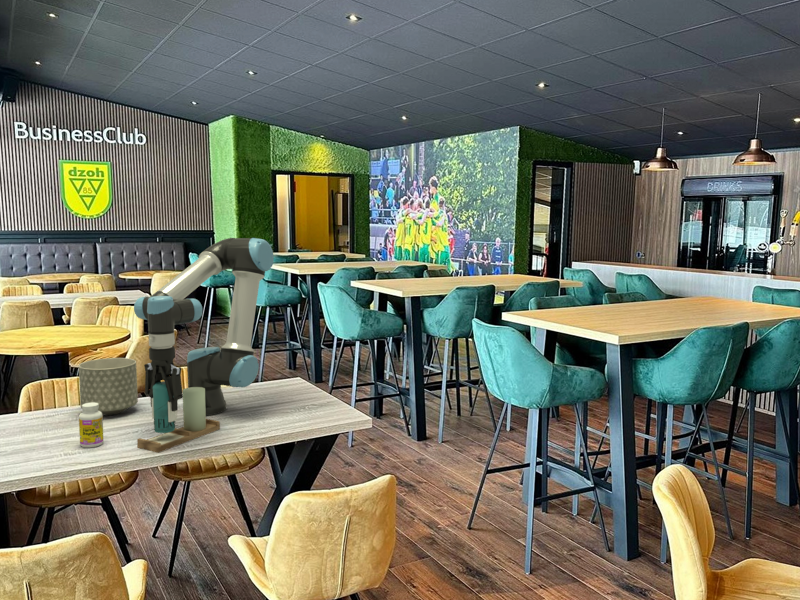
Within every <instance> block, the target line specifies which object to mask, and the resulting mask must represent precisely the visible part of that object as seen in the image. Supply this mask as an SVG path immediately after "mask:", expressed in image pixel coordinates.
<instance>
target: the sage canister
mask: <svg viewBox="0 0 800 600" xmlns="http://www.w3.org/2000/svg"><path fill="white" fill-rule="evenodd" d="M182 394H183V398H182V411H183V412H182V415H183V427H184V430H187V431H191V432H194V431H201V430H204V429H205V428H206V419H207V417H206V416H207V415H206V409H205V388H202V387H190V388H188V387H187V388H182Z"/></svg>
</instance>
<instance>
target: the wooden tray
mask: <svg viewBox="0 0 800 600" xmlns="http://www.w3.org/2000/svg"><path fill="white" fill-rule="evenodd" d="M220 424H221V423H220V420H215V419H211V418H206V428H205V429H204V430H201V431H194V432H191V431H187V430H184V426H180V427H178V428H177V427H175V430H174V431H172V432H168V433H160V434H159V435H156V436H153V437H151V438H147V439H145V438H141V437H140V438H137V441H136V442H137V448H138V449H141V450H146V451H150V452H154V453H161V452H164V451H166V450H169V449H171V448H174V447H177V446H180V445H182V444H184V443H187V442H191V441H193V440H195V439H197V438H200V437H203V436H206V435H209V434H210V433H213V432H216V431H218V430H220V429H221V427H220V426H221V425H220Z"/></svg>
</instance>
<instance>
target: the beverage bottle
mask: <svg viewBox="0 0 800 600" xmlns="http://www.w3.org/2000/svg"><path fill="white" fill-rule="evenodd" d="M169 376H170V375H169ZM169 376H166V377H169ZM156 380H161V382H158V383H156V384H155V385H154V386H153V405H154V412H153V413H154V419H153V429H154V432H155V433H157V434H164V433H168V432H172V431H174V430H175V428H176V420H175V421H172V422H168V400H170V399H169V395H168V392H167V388H166V384H165V381H164V380H163V378H162V375H161V373H156ZM173 397H174V396H173Z"/></svg>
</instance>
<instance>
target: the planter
mask: <svg viewBox="0 0 800 600" xmlns="http://www.w3.org/2000/svg"><path fill="white" fill-rule="evenodd" d="M137 373H138V372H137V361H136V359H133V358H128V357H108V358H97V359H90V360H86V361H83V362H81V363H79V365H78V380H79V383H78V385H79V396H80V397H79V402H80V403H79V404H80V409H81V410H82V405H83V404H85V403H92V402H95V403H98V404H99V408H98V411H100V412H102V416H112V415H113V414H114V415H118V414H120V413H123V412H124V411H126V410H128V409H129V408H131V407H134V406H136V405H137V404H138V401H139V398H138V394H139V393H138V377H137V375H138V374H137ZM114 415H113V416H114Z"/></svg>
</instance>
